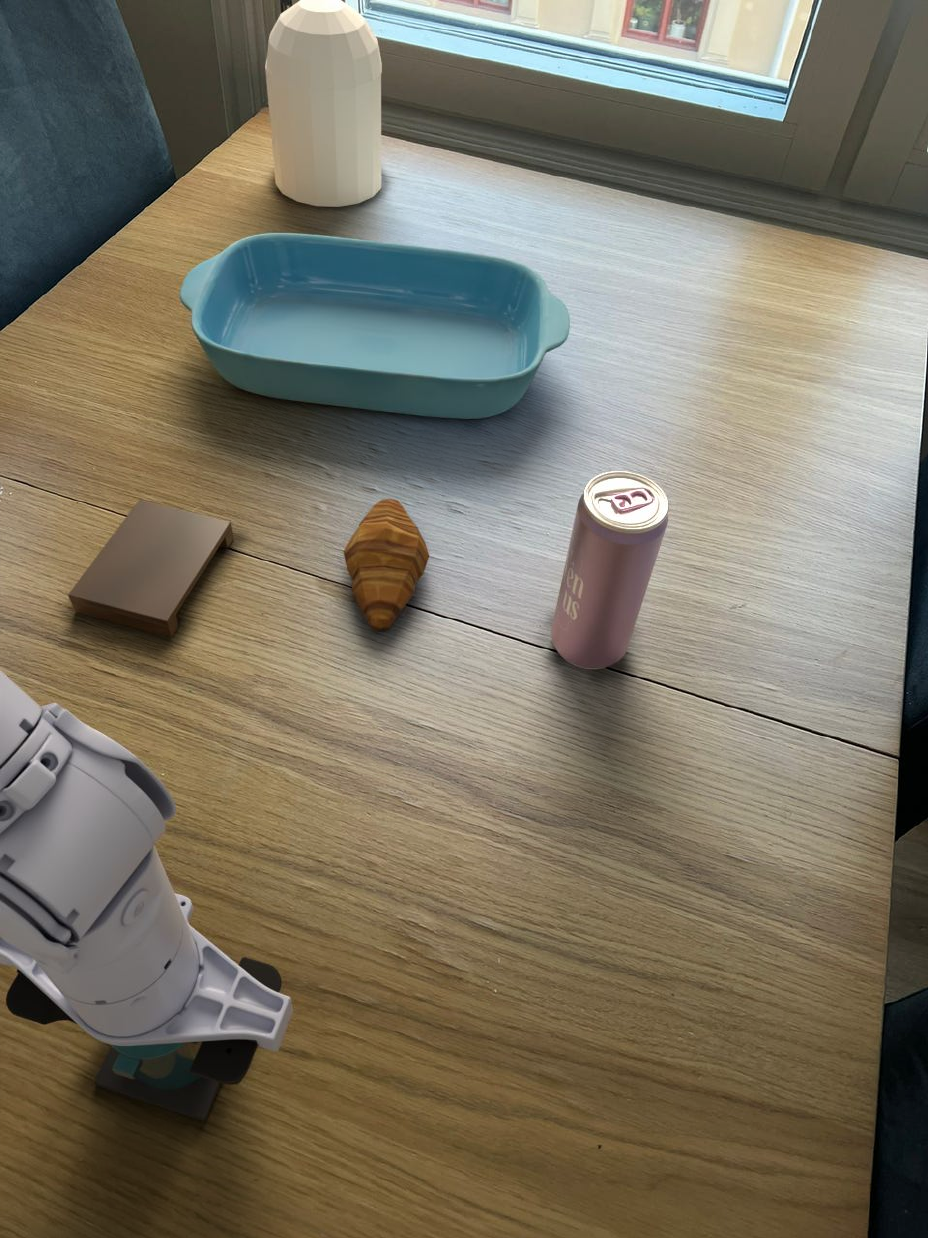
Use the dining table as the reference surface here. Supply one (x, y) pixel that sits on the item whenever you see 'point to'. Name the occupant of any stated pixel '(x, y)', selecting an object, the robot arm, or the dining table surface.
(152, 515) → the plate
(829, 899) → the dining table surface
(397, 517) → the croissant
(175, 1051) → the teal tabbed cylinder
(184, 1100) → the coaster
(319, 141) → the container
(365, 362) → the casserole dish
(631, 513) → the beverage can
